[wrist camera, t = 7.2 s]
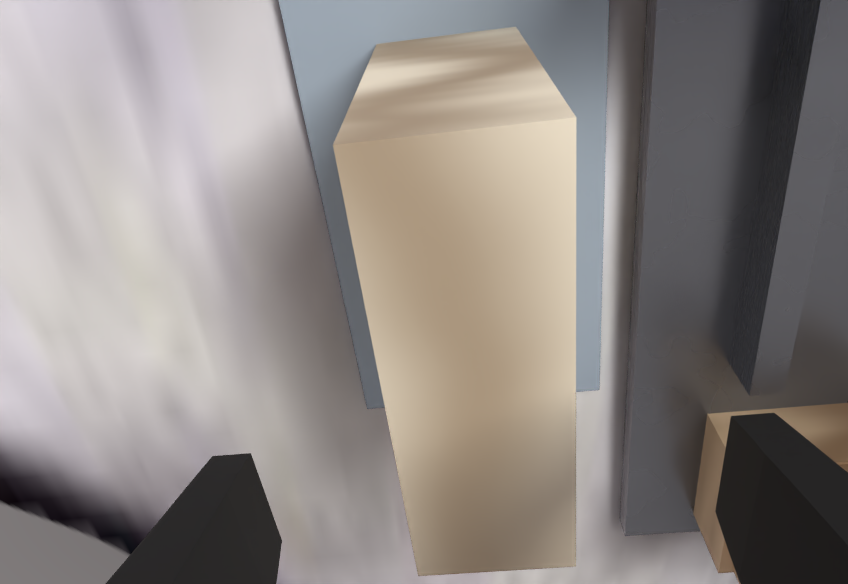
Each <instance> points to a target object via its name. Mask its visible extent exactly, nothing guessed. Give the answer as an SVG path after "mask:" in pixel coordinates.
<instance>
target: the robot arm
mask: <svg viewBox="0 0 848 584" xmlns="http://www.w3.org/2000/svg"><path fill="white" fill-rule="evenodd" d="M715 512H716V515H717V518H718V521H719V524H720V527H721V530H722V533H723V536H724V539H725V542H726V545H727V548H728V551H729V554H730V557H731V560H732V562H733V565H734V568H735V571H736V573H737V576H738V579H739V581H740V583H741V584H848V472H847V471H845V470H844V469H843V468H842V467H840V466H839V465H838V464H837V463H836V462H834V461H833V460H832V459H831V458H829V457H828V456H827V455H826V454H825V453H823V452H822V451H821V450H820V449H818V448H817V447H816V446H815V445H814V444H812V443H811V442H810V441H809V440H808V439H806V438H805V437H804V436H803V435H801V434H800V433H799V432H798V431H797V430H795V429H794V428H793V427H792V426H790V425H789V424H788V423H787V422H785V421H784V420H783V419H782V418H780V417H779V416H778V415H777V414H775V413H763V414H750V415H737V416H731V419H730V425H729V431H728V437H727V443H726V449H725V455H724V461H723V467H722V473H721V479H720V486H719V492H718V498H717V504H716V510H715ZM281 543H282V540H281V537H280V534H279V531H278V529H277V526H276V523H275V520H274V517H273V515H272V512H271V509H270V506H269V503H268V501H267V498H266V495H265V492H264V489H263V487H262V484H261V481H260V478H259V475H258V473H257V470H256V467H255V464H254V461H253V458H252V456H251V453H249V454H236V455H223V456H213V457H212V458H211V459H210V460H209V461H208V462H207V464H206V465H205V466H204V467H203V468H202V469H201V471H200V472H199V473H198V474H197V475H196V477H195V478H194V479H193V480H192V481H191V483H190V484H189V485H188V486H187V487H186V489H185V490H184V491H183V492H182V493H181V495H180V496H179V497H178V498H177V500H176V501H175V502H174V503H173V504H172V506H171V507H170V508H169V509H168V511H167V512H166V513H165V514H164V515H163V517H162V518H161V519H160V520H159V521H158V523H157V524H156V525H155V526H154V527H153V529H152V530H151V531H150V532H149V534H148V535H147V536H146V537H145V538H144V539H143V541H142V542H141V543H140V544H139V545H138V546H137V548H136V549H135V550H134V551H133V552H132V554H131V555H130V556H129V557H128V558H127V560H126V561H125V562H124V563H123V564H122V565H121V566H120V568H119V569H118V570H117V571H116V572H115V573H114V575H113V576H112V577H111V578H110V579H109V580H108V582H107V583H106V584H276V581H277V574H278V566H279V558H280V551H281Z"/></svg>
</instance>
